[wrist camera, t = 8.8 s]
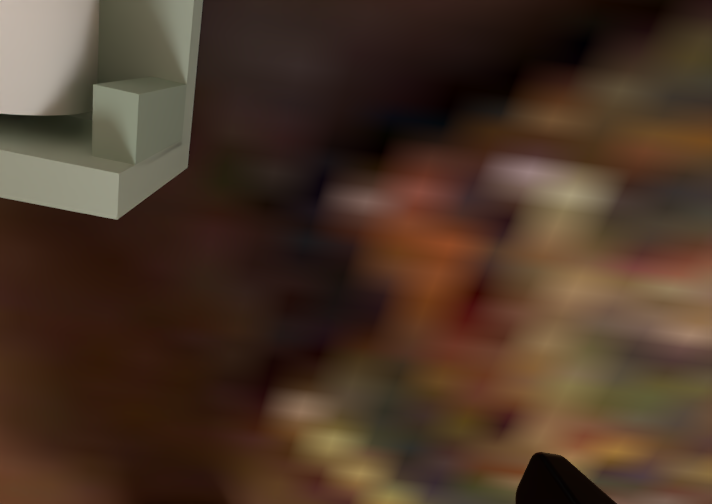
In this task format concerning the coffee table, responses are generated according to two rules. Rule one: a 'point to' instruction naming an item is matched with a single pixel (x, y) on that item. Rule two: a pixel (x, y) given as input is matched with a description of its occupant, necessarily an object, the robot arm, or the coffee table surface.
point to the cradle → (114, 117)
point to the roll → (48, 56)
